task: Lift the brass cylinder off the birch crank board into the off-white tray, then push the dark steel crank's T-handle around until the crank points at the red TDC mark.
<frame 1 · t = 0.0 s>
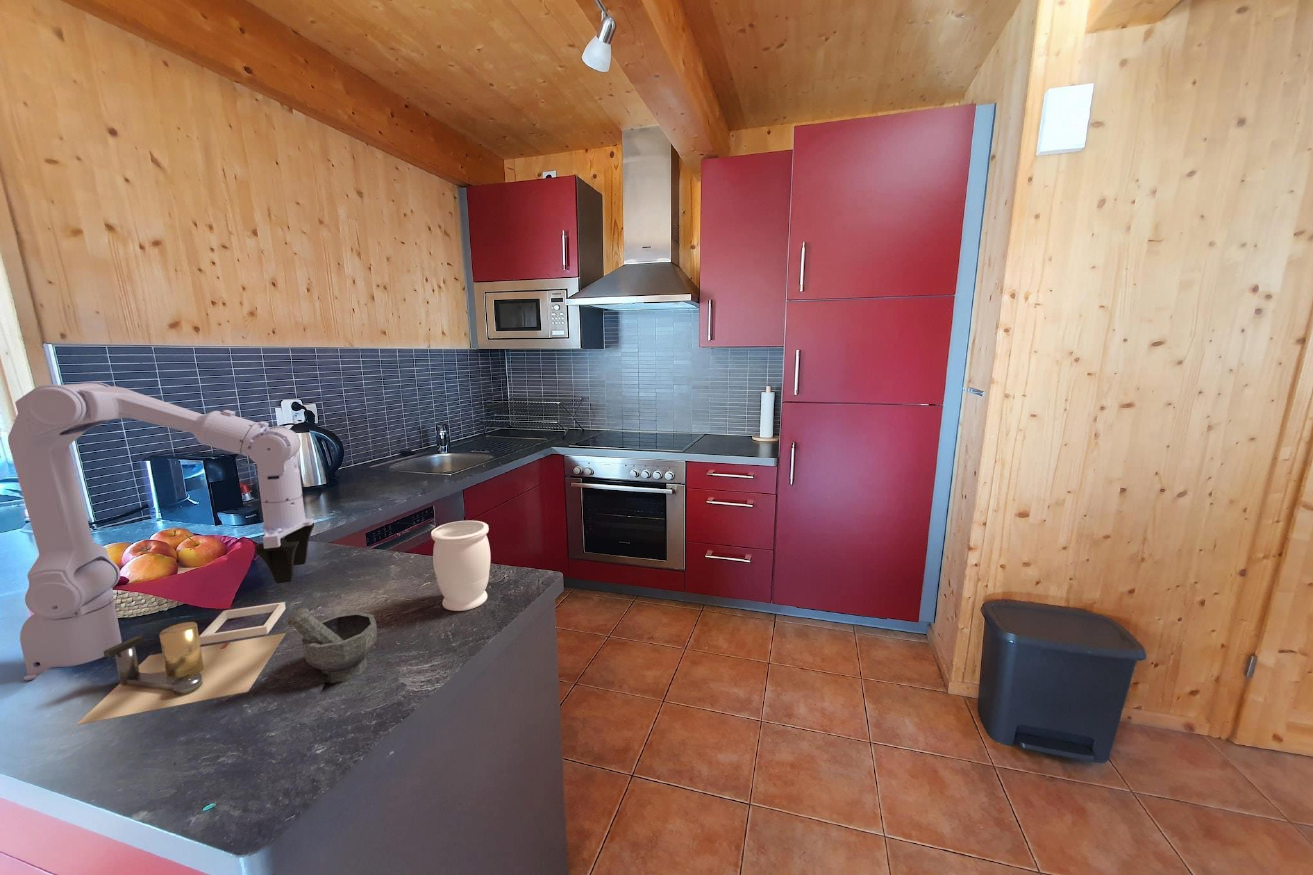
hand: (291, 572, 87), 10 cm above the counter, fingers open, 7 cm apart
crank board: (197, 679, 74), on the counter
jar: (465, 602, 98), on the counter
mortar and pestle: (339, 673, 76), on the counter
tray: (246, 631, 87), on the counter
crank: (157, 665, 70), point 4 cm above the counter, hinge at 0.0°
brass cylinder: (185, 672, 74), point 1 cm above the counter, touching crank board
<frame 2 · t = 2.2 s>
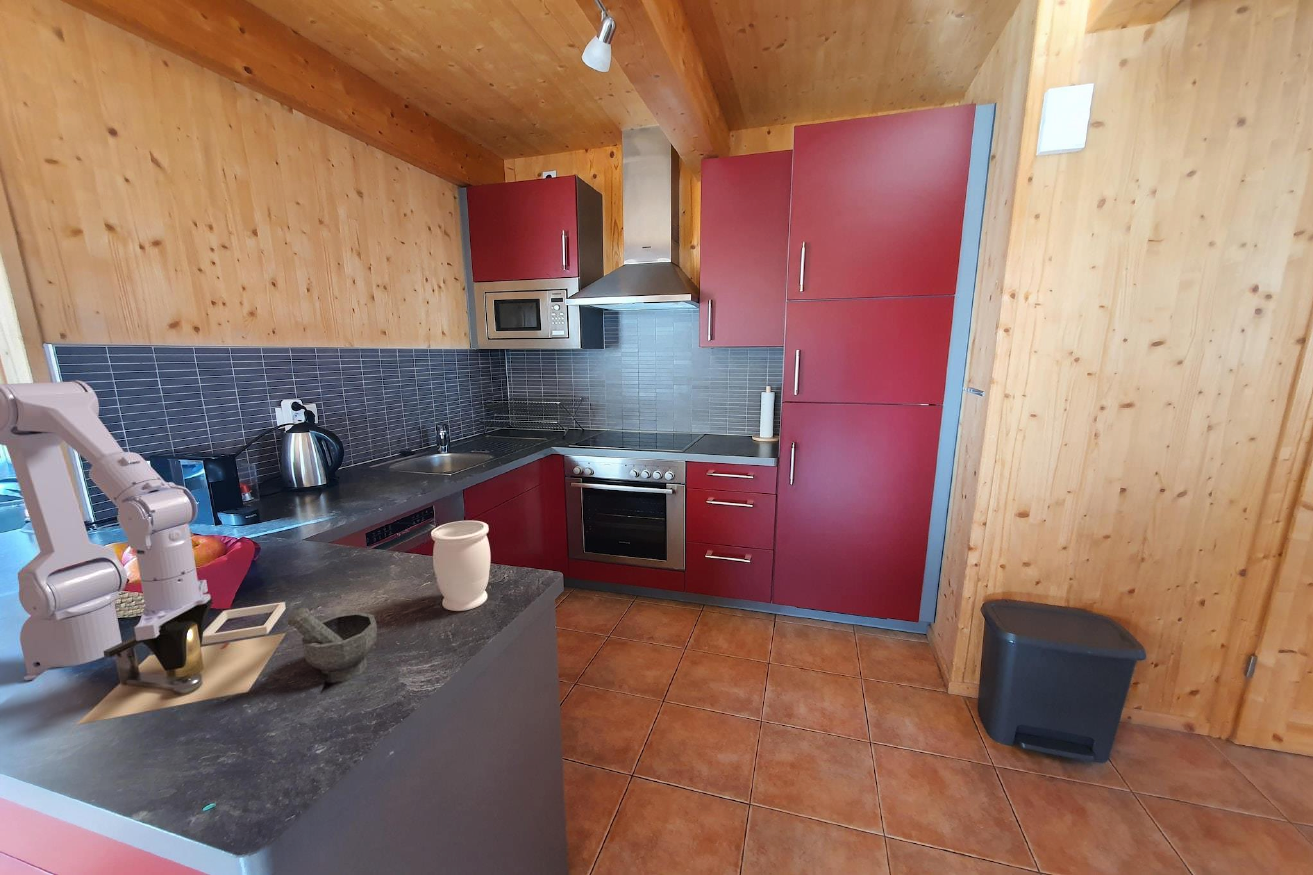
hand: (183, 659, 74), 3 cm above the counter, fingers closed on brass cylinder, 4 cm apart
brass cylinder: (185, 672, 74), point 1 cm above the counter, touching crank board, gripper
everything else where it was.
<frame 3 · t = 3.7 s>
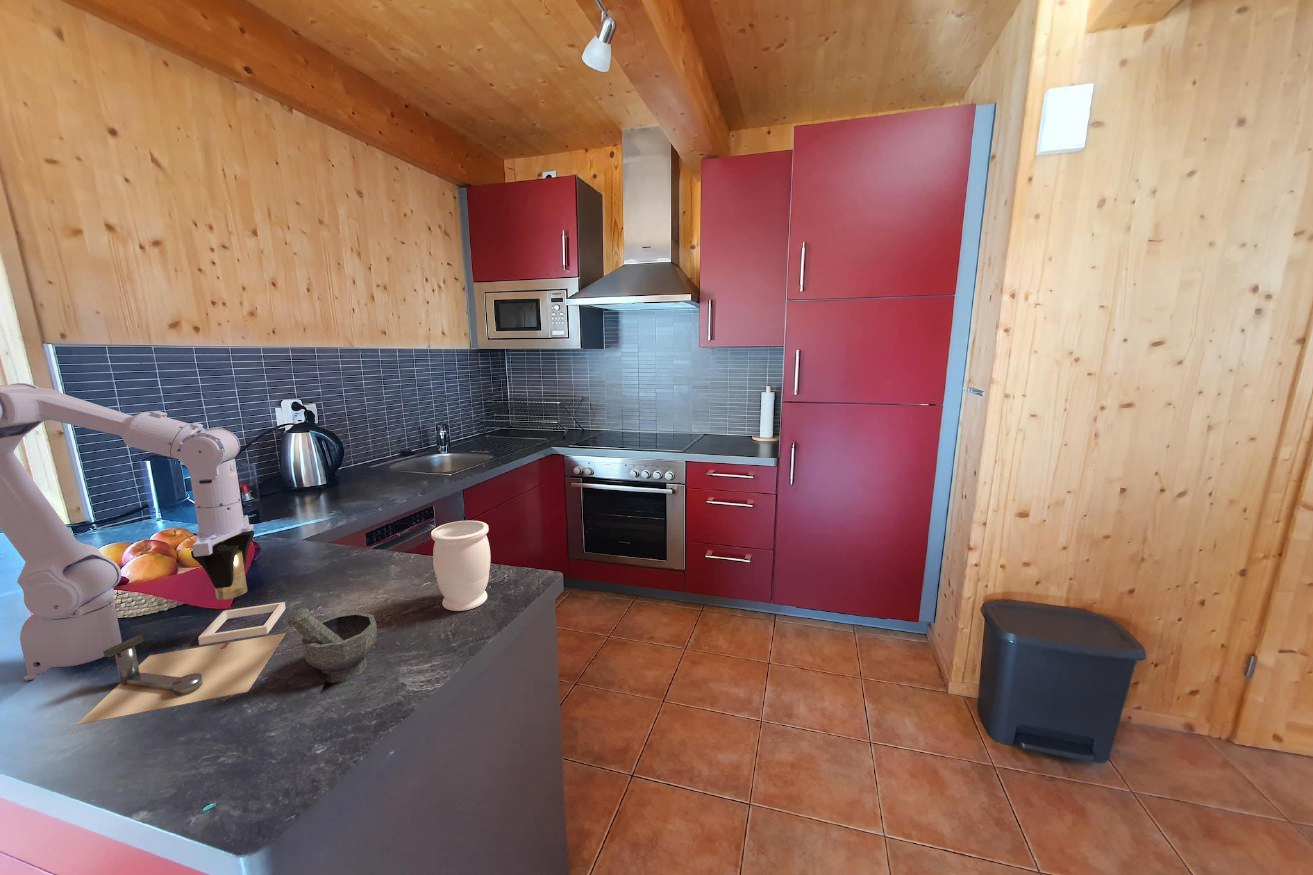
hand: (230, 581, 84), 10 cm above the counter, fingers closed on brass cylinder, 4 cm apart
brass cylinder: (232, 593, 84), point 8 cm above the counter, touching gripper
everything else where it was.
when the fingers open (4 cm above the counter, at t = 5.6 s): brass cylinder stays where it is, resting on tray.
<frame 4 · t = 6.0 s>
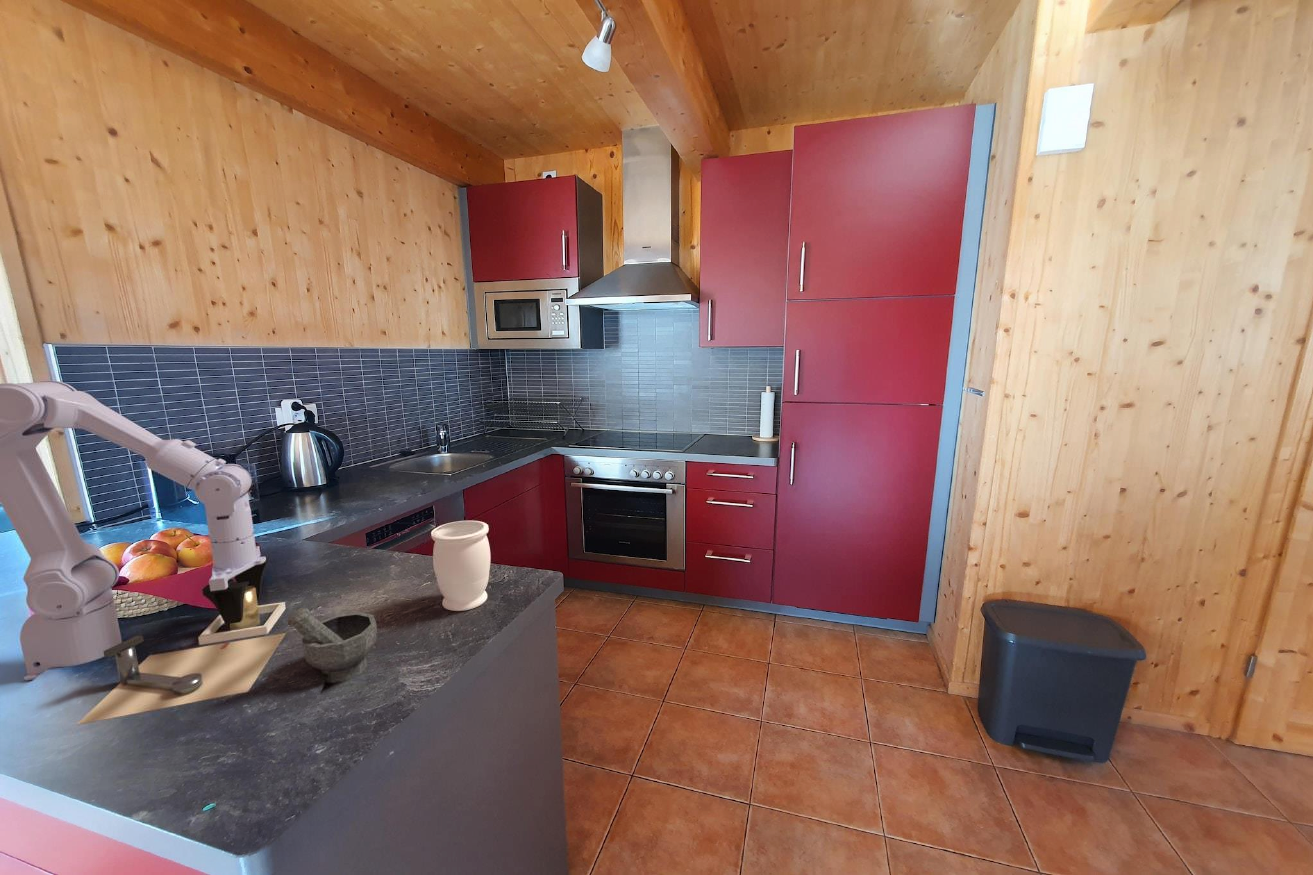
hand: (243, 611, 87), 4 cm above the counter, fingers open, 7 cm apart
brass cylinder: (246, 628, 87), point 1 cm above the counter, touching tray
everything else where it was.
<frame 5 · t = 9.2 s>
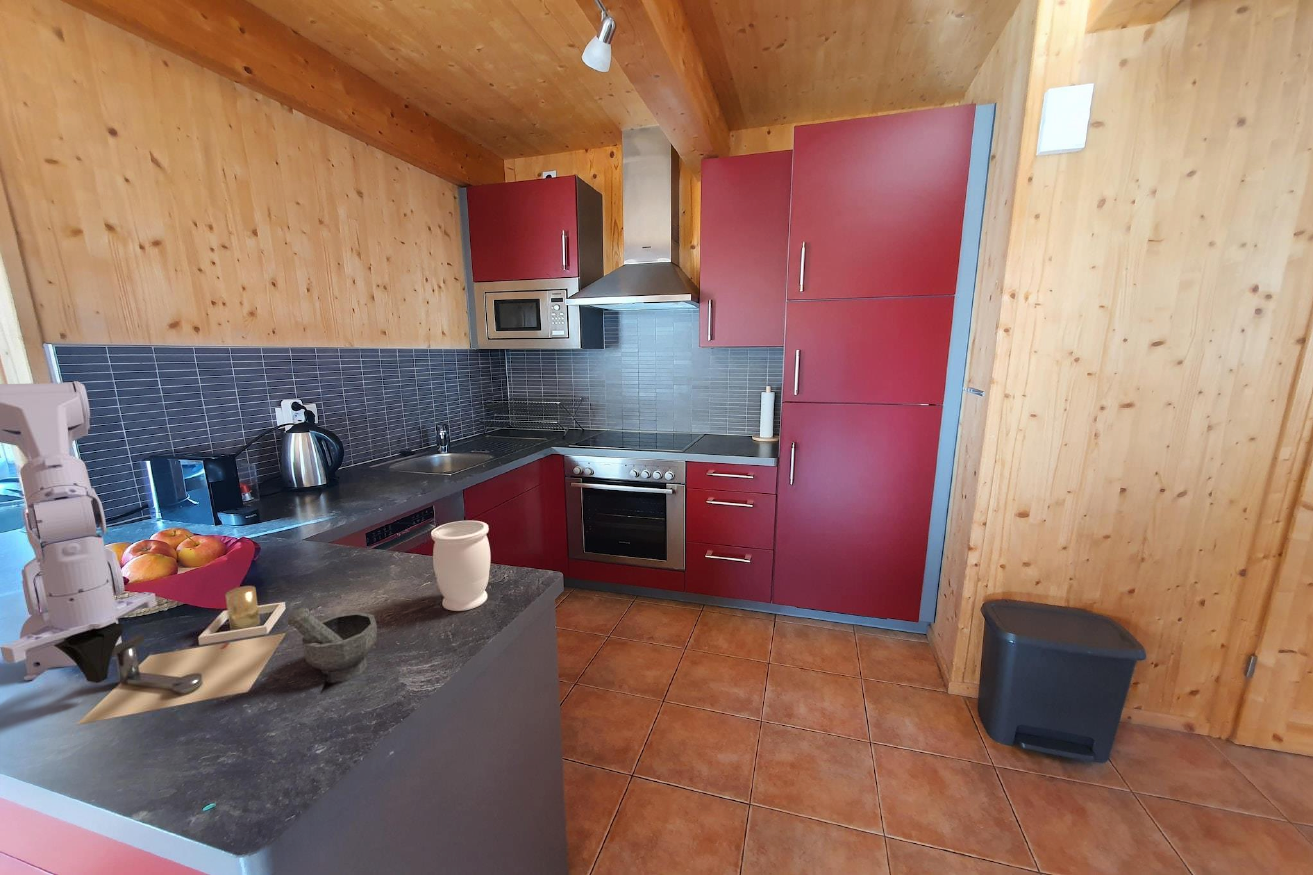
hand: (97, 679, 68), 4 cm above the counter, fingers closed
crank: (157, 665, 70), point 4 cm above the counter, hinge at -0.1°, touching gripper
everything else where it was.
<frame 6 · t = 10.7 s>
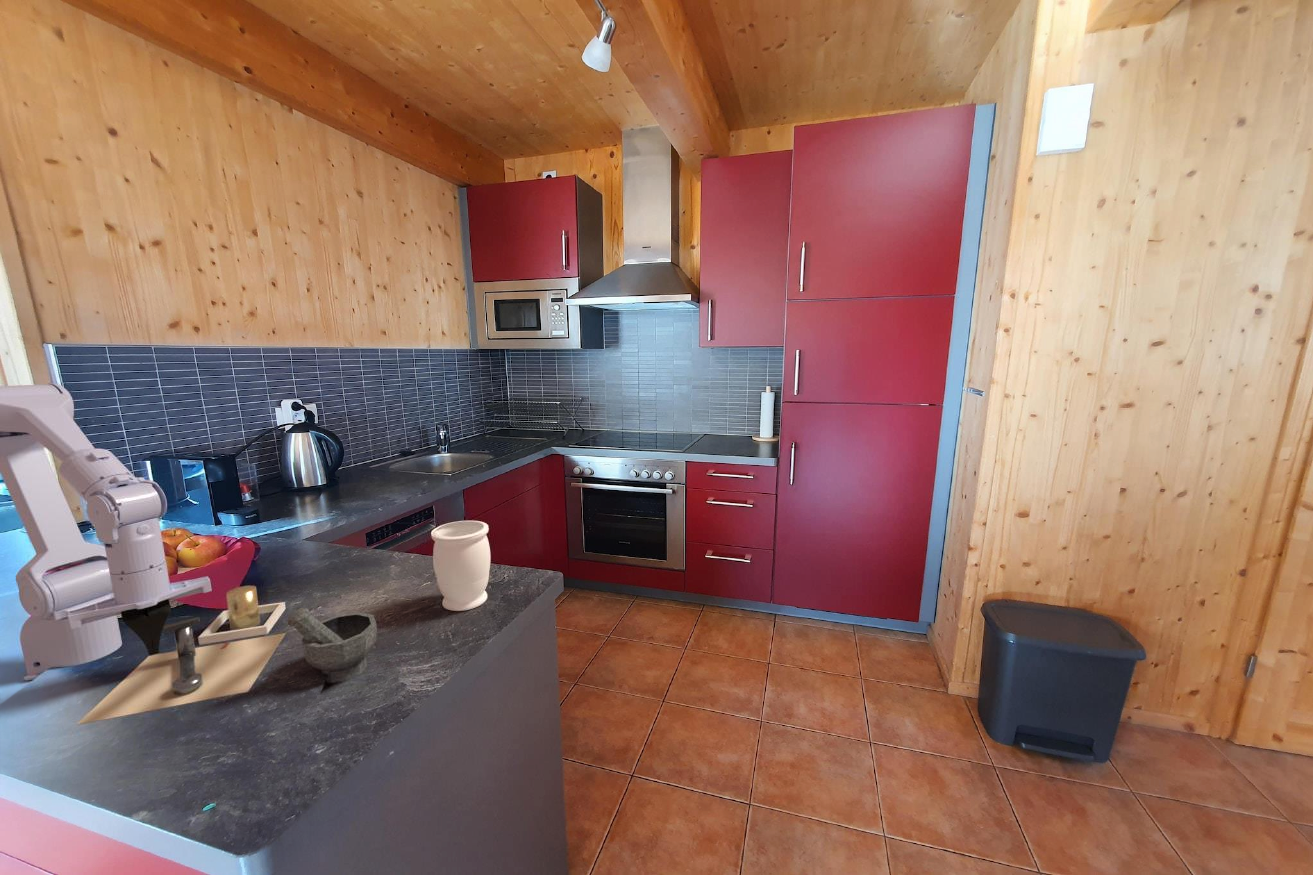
hand: (153, 652, 74), 4 cm above the counter, fingers closed
crank: (184, 654, 73), point 4 cm above the counter, hinge at -37.1°, touching gripper
everything else where it was.
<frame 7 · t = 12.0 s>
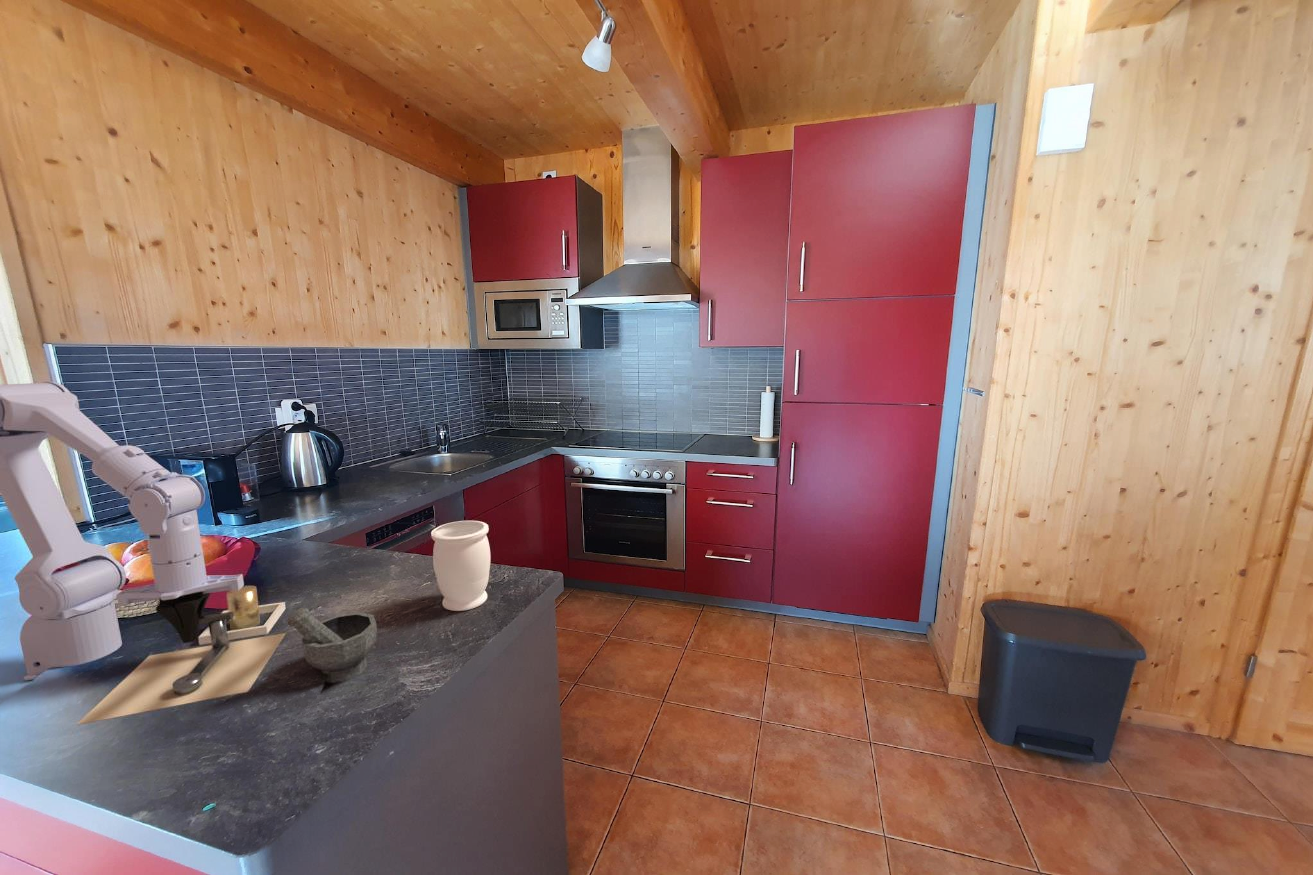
hand: (191, 639, 78), 4 cm above the counter, fingers closed
crank: (202, 650, 74), point 4 cm above the counter, hinge at -60.4°, touching gripper
everything else where it was.
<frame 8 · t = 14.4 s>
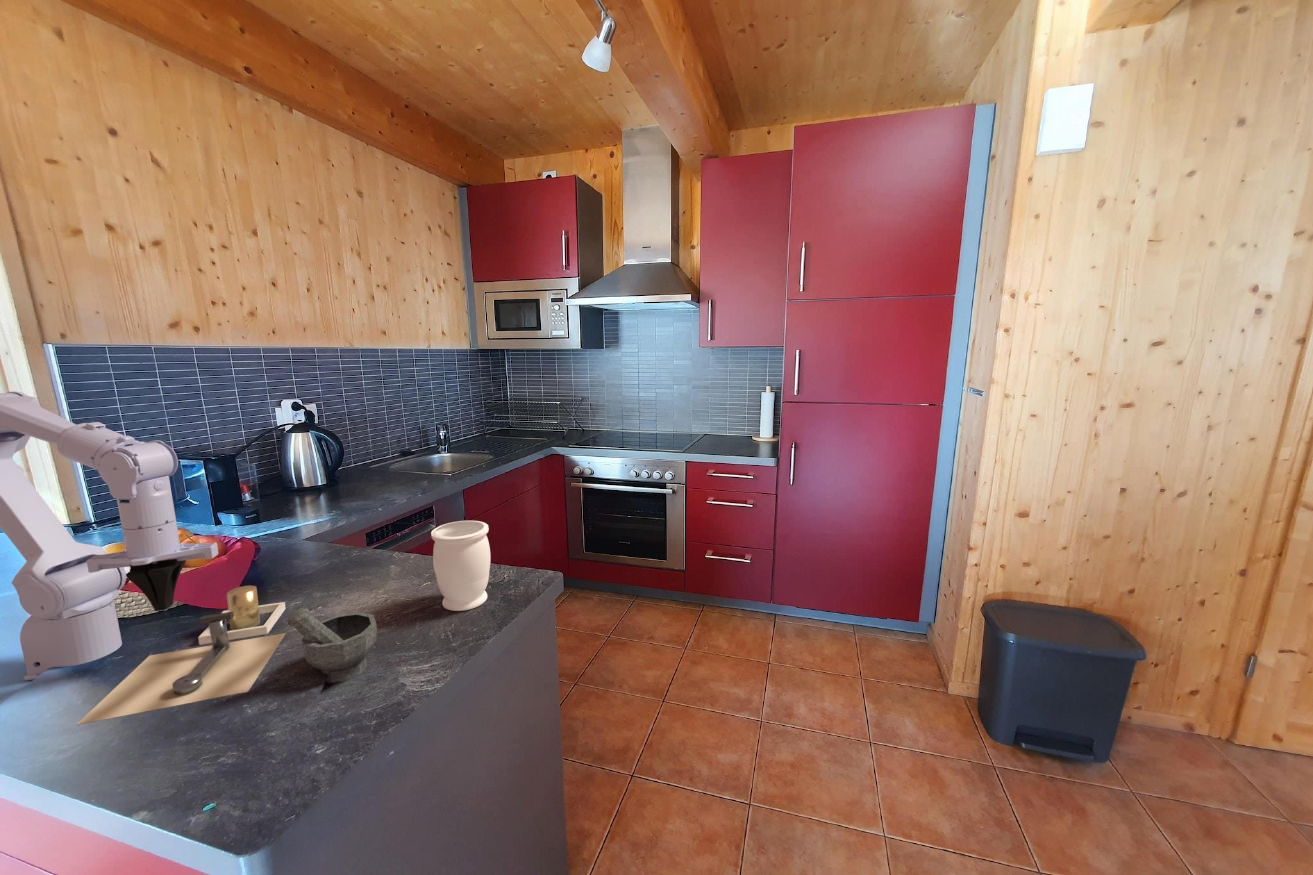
hand: (164, 607, 77), 9 cm above the counter, fingers closed
crank: (202, 650, 74), point 4 cm above the counter, hinge at -60.6°
everything else where it was.
at the end: brass cylinder 0.0 cm off-centre on the tray, point 0.6 cm above the tray's base; brass cylinder tilted 1°; crank at -61° (first picture: +0°) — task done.
